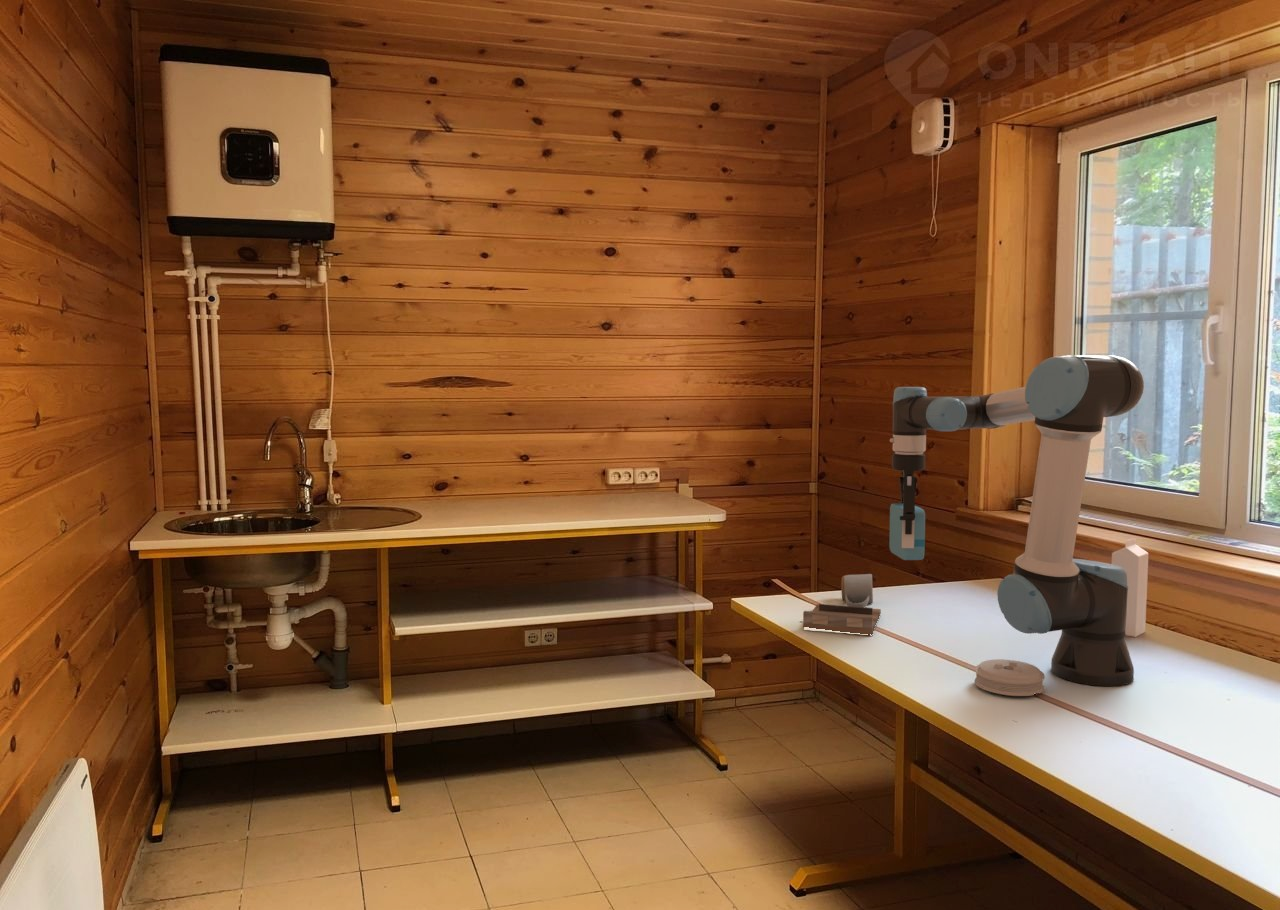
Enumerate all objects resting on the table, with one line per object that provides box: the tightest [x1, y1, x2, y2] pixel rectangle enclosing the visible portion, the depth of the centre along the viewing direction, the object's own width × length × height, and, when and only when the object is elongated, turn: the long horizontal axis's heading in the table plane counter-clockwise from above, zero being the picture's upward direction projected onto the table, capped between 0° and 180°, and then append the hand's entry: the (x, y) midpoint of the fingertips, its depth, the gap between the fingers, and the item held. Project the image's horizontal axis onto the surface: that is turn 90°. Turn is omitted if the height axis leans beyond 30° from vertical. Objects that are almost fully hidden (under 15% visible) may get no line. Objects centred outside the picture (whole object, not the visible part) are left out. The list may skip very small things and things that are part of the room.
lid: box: [974, 658, 1046, 697], centre depth 187 cm, size 13×13×5 cm
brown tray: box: [802, 603, 882, 636], centre depth 235 cm, size 20×16×4 cm
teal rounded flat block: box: [888, 502, 926, 561], centre depth 227 cm, size 12×4×12 cm, turn 3°
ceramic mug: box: [840, 573, 874, 607], centre depth 253 cm, size 11×8×8 cm
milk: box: [1111, 537, 1149, 638], centre depth 224 cm, size 6×6×22 cm
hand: (906, 542), depth 227 cm, fingers closed on teal rounded flat block, 13 cm apart
